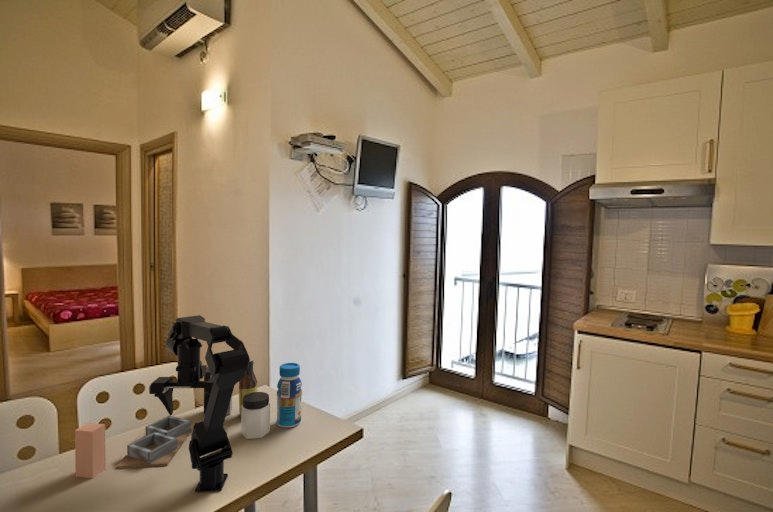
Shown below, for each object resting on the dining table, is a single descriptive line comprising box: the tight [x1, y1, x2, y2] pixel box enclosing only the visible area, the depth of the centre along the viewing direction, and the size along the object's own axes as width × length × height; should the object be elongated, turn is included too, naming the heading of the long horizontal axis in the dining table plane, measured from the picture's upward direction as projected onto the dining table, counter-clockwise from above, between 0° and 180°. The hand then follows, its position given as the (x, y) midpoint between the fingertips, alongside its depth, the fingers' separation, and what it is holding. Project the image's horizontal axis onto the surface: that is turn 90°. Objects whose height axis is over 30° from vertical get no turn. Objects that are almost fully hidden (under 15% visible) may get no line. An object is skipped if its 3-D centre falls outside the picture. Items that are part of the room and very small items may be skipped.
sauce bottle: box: [238, 358, 258, 417], centre depth 139 cm, size 6×6×20 cm
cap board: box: [115, 414, 198, 469], centre depth 119 cm, size 24×13×4 cm, turn 8°
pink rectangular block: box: [74, 422, 107, 479], centre depth 104 cm, size 5×4×12 cm
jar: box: [240, 391, 271, 440], centre depth 127 cm, size 9×8×12 cm
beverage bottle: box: [276, 362, 303, 429], centre depth 134 cm, size 8×8×20 cm
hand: (188, 414), depth 111 cm, fingers open, 9 cm apart
